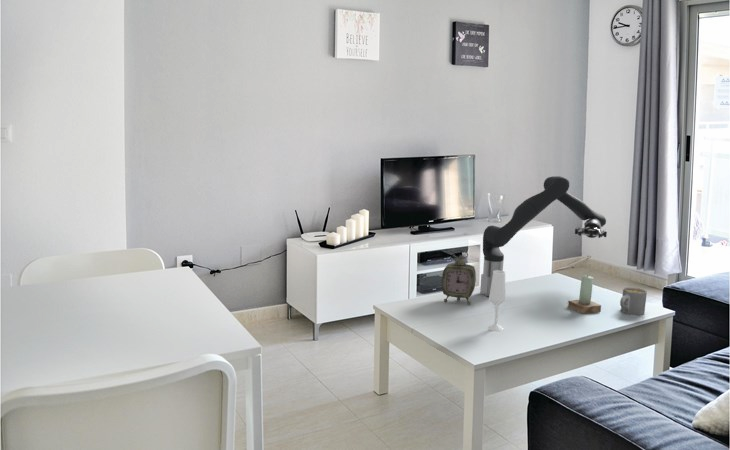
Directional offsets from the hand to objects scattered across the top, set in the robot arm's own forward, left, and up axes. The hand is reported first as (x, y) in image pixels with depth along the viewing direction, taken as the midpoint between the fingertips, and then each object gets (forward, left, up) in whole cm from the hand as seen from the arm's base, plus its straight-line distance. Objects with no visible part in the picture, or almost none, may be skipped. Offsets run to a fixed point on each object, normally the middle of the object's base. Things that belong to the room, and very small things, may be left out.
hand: (589, 234), depth 308 cm
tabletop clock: (-59, +16, -32) cm, 69 cm away
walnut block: (-9, -11, -32) cm, 35 cm away
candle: (-9, -11, -29) cm, 32 cm away
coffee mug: (+9, -20, -32) cm, 39 cm away
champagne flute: (-62, -20, -32) cm, 72 cm away
